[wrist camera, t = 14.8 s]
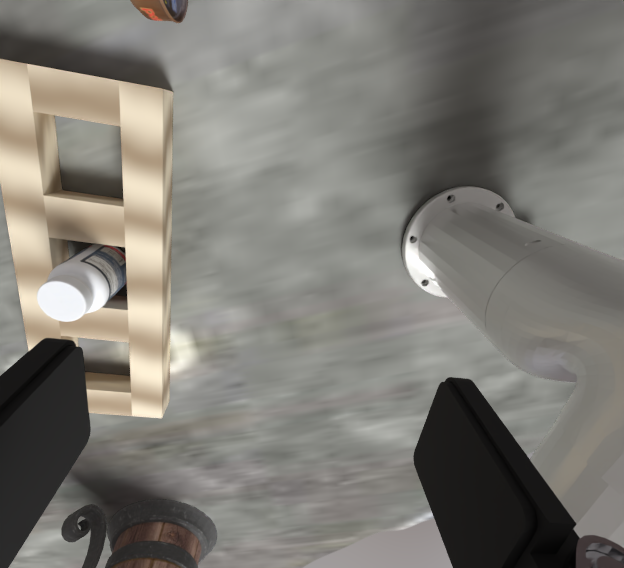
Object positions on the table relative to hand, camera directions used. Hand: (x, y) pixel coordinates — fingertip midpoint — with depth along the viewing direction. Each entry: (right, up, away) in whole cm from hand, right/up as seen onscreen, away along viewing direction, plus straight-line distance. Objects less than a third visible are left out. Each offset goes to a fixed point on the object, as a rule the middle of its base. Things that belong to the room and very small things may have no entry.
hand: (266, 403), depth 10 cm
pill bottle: (-21, +5, +30) cm, 37 cm away
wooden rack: (-21, +5, +29) cm, 37 cm away
